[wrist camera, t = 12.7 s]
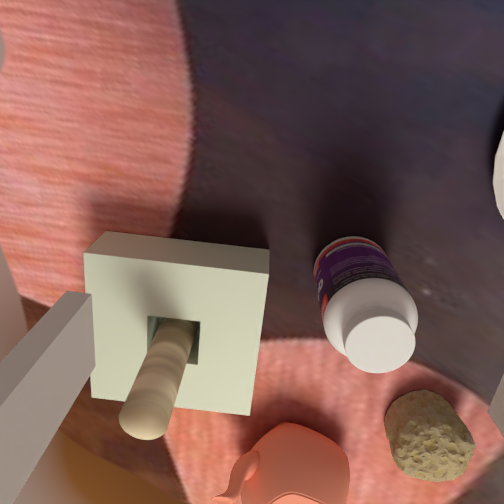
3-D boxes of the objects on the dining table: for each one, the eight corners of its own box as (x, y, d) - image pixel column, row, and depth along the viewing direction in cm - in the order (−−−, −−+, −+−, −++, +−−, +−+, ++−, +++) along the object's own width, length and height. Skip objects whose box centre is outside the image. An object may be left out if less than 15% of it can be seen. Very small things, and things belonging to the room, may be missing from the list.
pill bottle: (300, 251, 46) (311, 324, 33) (370, 220, 45) (411, 284, 31) (330, 309, 49) (351, 398, 36) (397, 282, 47) (445, 365, 34)
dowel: (165, 298, 48) (118, 399, 34) (200, 302, 48) (168, 405, 34) (165, 327, 50) (119, 436, 35) (198, 331, 50) (167, 442, 35)
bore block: (105, 230, 46) (83, 252, 41) (269, 249, 46) (268, 274, 41) (110, 363, 54) (91, 397, 48) (252, 380, 54) (249, 415, 48)
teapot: (247, 385, 54) (240, 467, 43) (377, 447, 57) (402, 538, 46) (200, 450, 59) (183, 539, 48) (322, 504, 62) (333, 599, 51)
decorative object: (372, 410, 59) (395, 491, 54) (381, 391, 51) (410, 484, 45) (438, 399, 59) (468, 479, 53) (459, 377, 51) (497, 470, 45)
